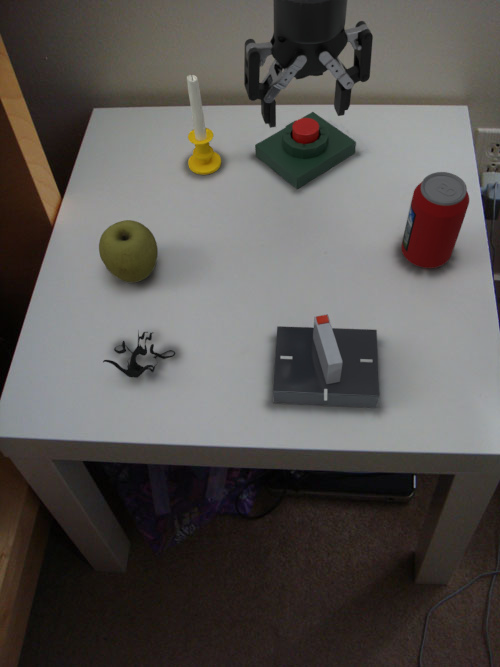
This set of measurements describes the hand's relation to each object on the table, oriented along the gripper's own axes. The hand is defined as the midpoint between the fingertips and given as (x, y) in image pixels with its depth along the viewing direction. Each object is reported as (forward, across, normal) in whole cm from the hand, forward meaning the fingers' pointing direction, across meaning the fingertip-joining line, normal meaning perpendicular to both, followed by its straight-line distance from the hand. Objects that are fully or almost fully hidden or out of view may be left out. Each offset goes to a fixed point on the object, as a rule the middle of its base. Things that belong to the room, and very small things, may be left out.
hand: (305, 117), depth 73 cm
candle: (+17, -12, +15) cm, 26 cm away
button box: (+17, +4, +12) cm, 21 cm away
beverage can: (+17, +14, -11) cm, 25 cm away
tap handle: (+14, -4, -26) cm, 30 cm away
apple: (+17, -25, -4) cm, 31 cm away
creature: (+17, -25, -19) cm, 36 cm away
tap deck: (+17, -4, -26) cm, 31 cm away
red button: (+13, +4, +12) cm, 19 cm away
